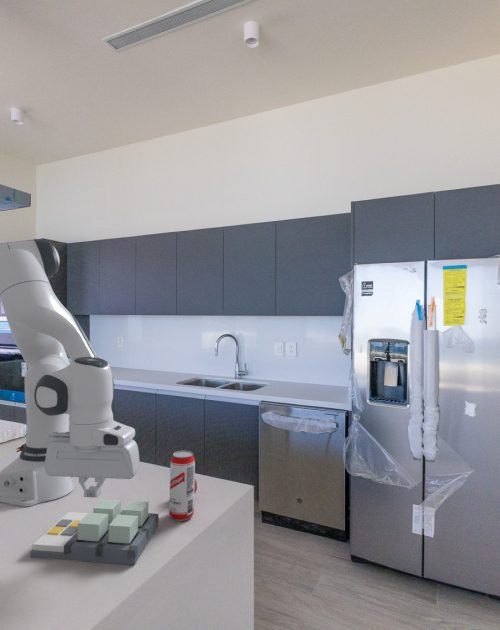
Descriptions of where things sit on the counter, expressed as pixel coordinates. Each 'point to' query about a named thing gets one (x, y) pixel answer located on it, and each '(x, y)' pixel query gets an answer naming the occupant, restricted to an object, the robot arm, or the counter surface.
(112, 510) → the button
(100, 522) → the button
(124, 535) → the button
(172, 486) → the beer can
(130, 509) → the button
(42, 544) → the board
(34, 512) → the counter surface
